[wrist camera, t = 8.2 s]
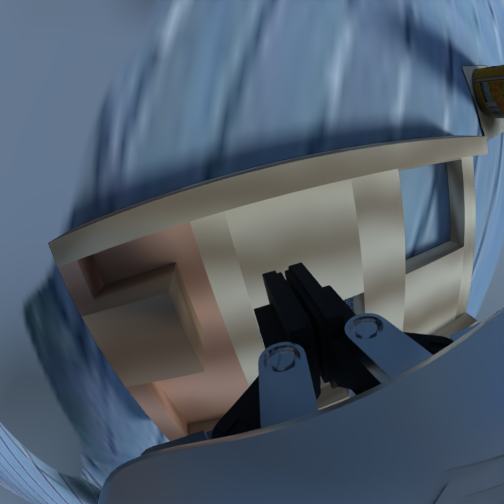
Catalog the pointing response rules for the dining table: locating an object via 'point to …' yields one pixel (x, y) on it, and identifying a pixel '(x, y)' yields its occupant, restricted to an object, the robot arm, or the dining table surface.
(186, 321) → the walnut block
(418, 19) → the dining table surface
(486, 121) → the condiment
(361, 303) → the trap track
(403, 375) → the robot arm
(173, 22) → the dining table surface
